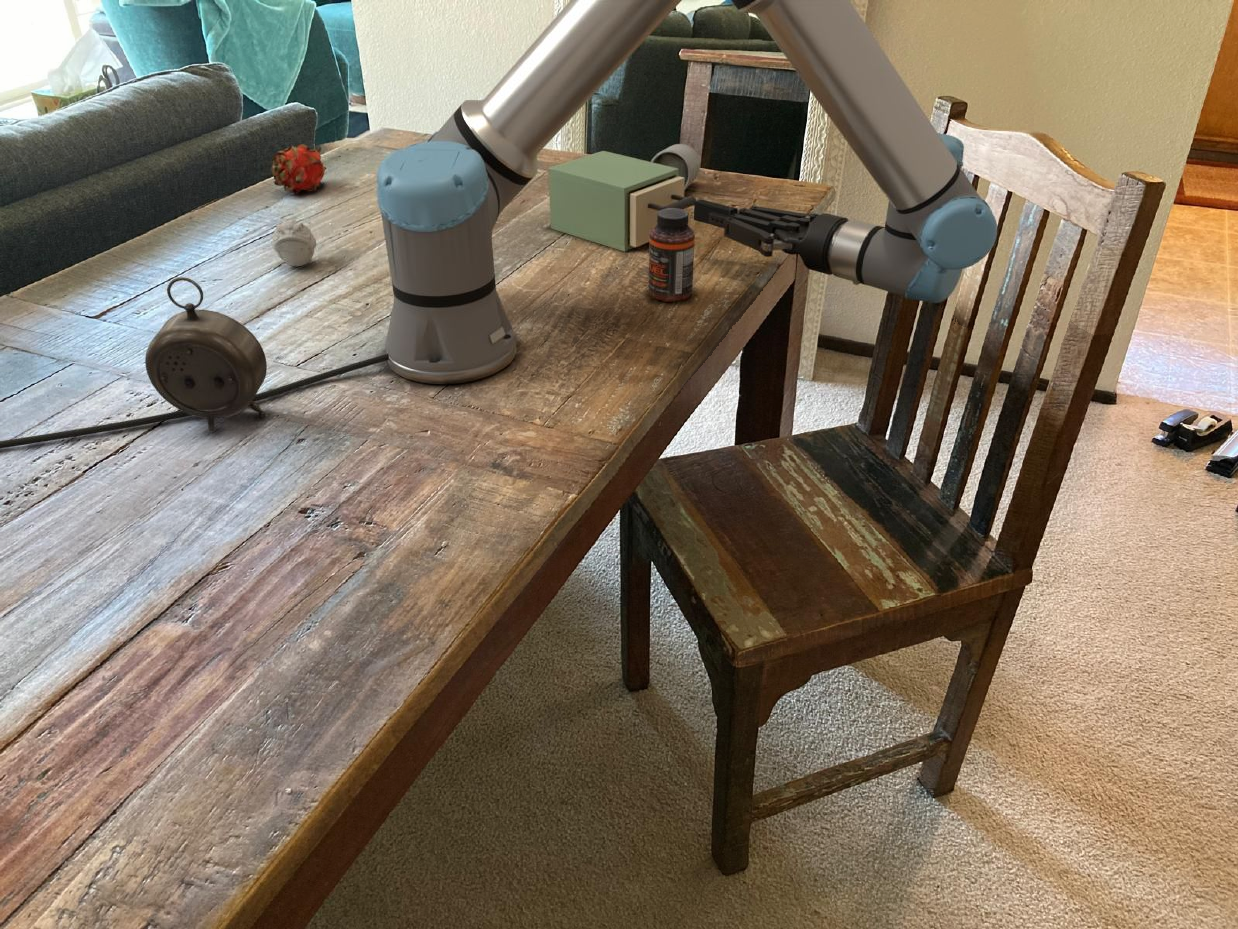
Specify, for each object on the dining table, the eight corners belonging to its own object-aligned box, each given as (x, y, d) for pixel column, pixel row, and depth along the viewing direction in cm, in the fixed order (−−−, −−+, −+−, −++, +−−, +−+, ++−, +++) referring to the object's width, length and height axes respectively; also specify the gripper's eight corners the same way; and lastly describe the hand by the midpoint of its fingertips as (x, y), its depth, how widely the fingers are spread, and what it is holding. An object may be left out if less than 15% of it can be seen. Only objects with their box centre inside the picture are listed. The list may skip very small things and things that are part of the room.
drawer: (704, 233, 142) (707, 182, 138) (657, 254, 135) (658, 201, 131) (613, 207, 153) (613, 159, 148) (565, 225, 146) (563, 176, 141)
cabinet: (677, 229, 146) (678, 168, 141) (624, 251, 139) (624, 187, 133) (604, 208, 155) (603, 150, 150) (550, 228, 147) (548, 167, 142)
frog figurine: (274, 276, 131) (263, 228, 127) (279, 258, 137) (269, 212, 133) (318, 273, 132) (309, 225, 128) (322, 255, 138) (313, 209, 134)
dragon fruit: (278, 209, 160) (320, 199, 170) (309, 183, 156) (350, 174, 166) (249, 165, 159) (293, 157, 169) (279, 138, 155) (322, 131, 165)
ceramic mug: (701, 184, 166) (703, 140, 161) (689, 197, 159) (690, 152, 155) (645, 179, 169) (645, 136, 164) (631, 193, 162) (630, 148, 158)
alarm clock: (280, 408, 100) (245, 266, 91) (264, 434, 96) (226, 288, 87) (179, 409, 100) (134, 267, 91) (158, 435, 96) (110, 289, 87)
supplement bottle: (639, 294, 125) (639, 212, 119) (668, 282, 129) (670, 201, 123) (671, 307, 122) (674, 223, 116) (701, 294, 125) (705, 212, 119)
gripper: (811, 289, 119) (668, 246, 132) (861, 260, 127) (722, 223, 140) (818, 232, 115) (669, 194, 128) (869, 206, 123) (724, 173, 136)
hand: (697, 209), depth 134 cm, fingers closed
